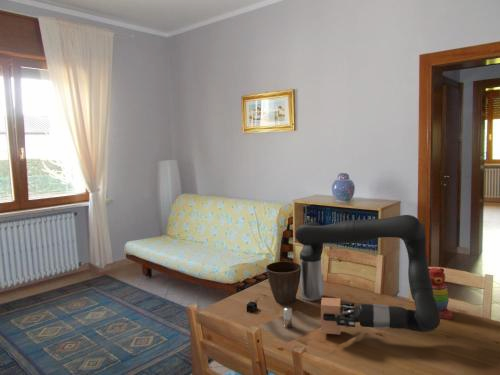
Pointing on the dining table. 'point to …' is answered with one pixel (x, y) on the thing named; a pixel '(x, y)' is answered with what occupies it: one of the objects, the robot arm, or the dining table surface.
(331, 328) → the pink rectangular block
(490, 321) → the dining table surface
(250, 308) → the black faceted lump
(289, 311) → the steel post
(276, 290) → the plant pot
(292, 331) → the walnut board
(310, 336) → the dining table surface
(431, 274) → the stacking bear
